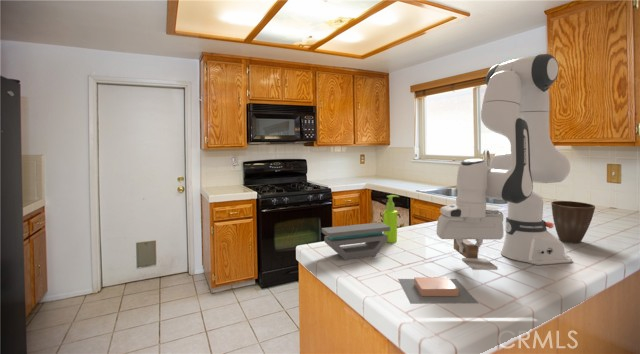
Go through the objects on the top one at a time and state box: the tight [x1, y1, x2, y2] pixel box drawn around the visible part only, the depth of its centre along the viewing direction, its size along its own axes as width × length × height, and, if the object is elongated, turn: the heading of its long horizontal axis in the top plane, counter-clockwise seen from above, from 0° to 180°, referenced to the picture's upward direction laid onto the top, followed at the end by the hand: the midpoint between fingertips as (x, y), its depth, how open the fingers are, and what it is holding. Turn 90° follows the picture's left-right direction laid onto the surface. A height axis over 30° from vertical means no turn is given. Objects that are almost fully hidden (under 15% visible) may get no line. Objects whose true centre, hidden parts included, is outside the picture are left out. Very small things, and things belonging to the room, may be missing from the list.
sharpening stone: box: [321, 221, 390, 261], centre depth 129 cm, size 25×8×11 cm, turn 109°
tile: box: [413, 276, 458, 296], centre depth 97 cm, size 10×2×8 cm
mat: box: [397, 278, 479, 305], centre depth 97 cm, size 18×16×1 cm
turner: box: [453, 239, 499, 271], centre depth 108 cm, size 21×7×4 cm, turn 179°
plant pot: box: [551, 200, 596, 244], centre depth 144 cm, size 15×15×16 cm
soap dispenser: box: [382, 194, 400, 244], centre depth 147 cm, size 6×7×20 cm
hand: (468, 252), depth 109 cm, fingers closed on turner, 3 cm apart
